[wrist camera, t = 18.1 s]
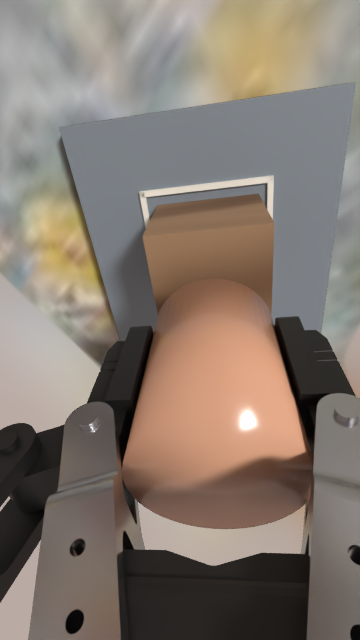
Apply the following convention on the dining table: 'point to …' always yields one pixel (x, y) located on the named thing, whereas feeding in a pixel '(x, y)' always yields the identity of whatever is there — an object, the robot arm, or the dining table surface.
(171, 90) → the dining table surface
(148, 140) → the board
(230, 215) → the walnut block
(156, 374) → the terracotta cylinder
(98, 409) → the robot arm
